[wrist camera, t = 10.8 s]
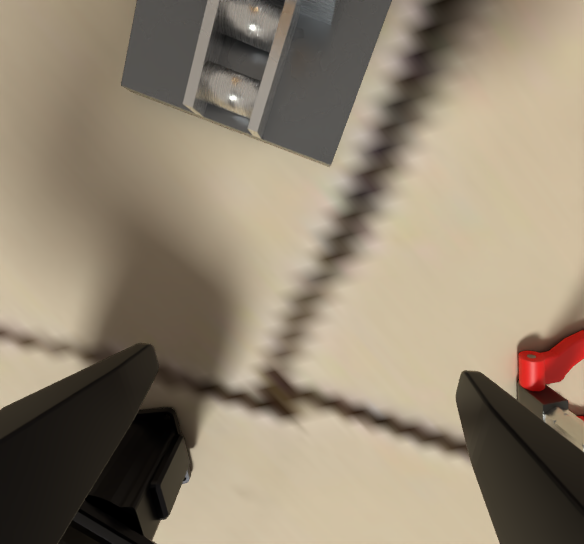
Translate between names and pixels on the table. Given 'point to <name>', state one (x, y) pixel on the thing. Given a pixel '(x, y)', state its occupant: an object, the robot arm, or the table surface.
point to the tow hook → (541, 397)
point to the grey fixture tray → (257, 64)
